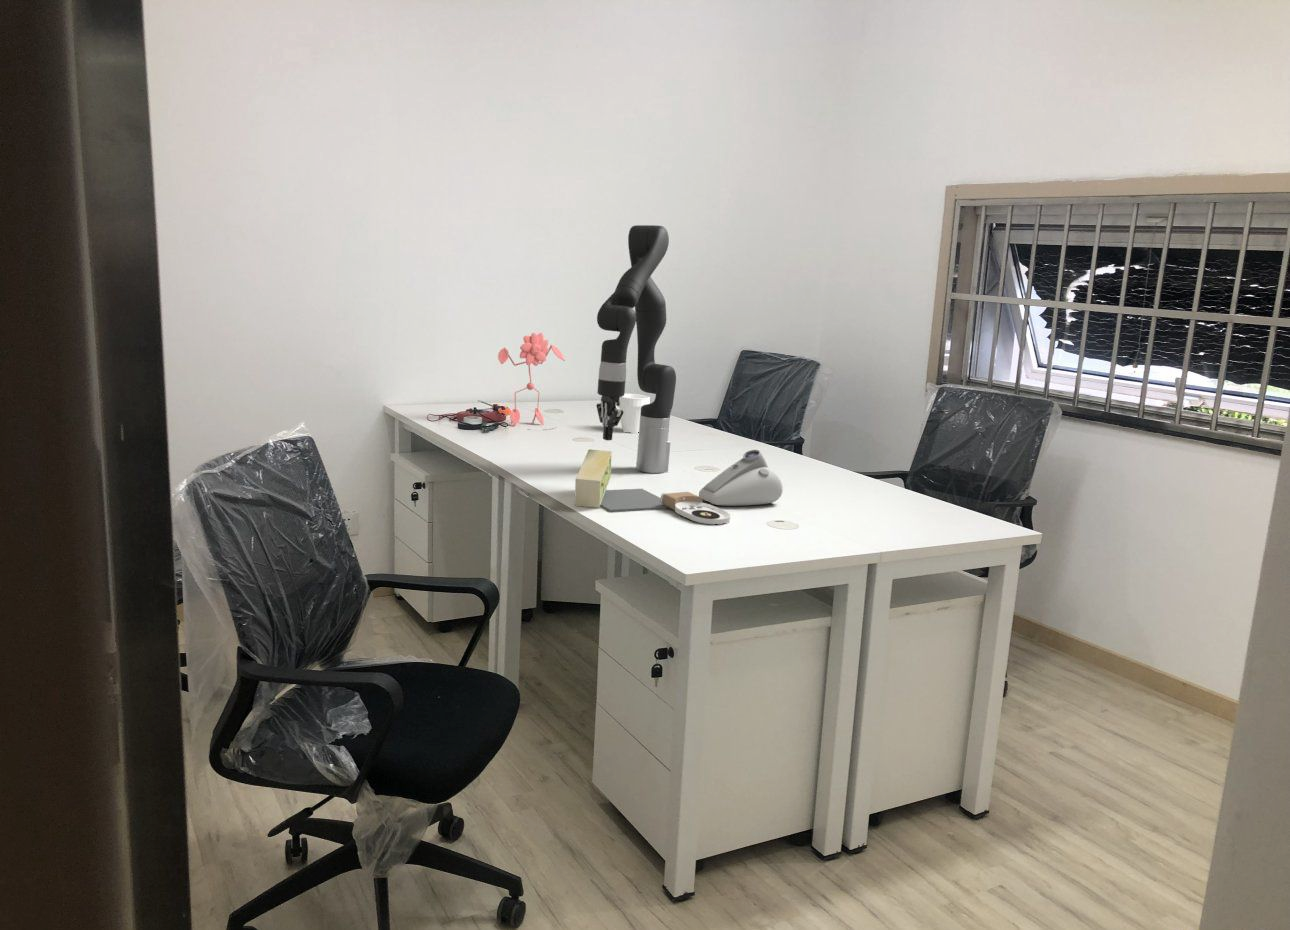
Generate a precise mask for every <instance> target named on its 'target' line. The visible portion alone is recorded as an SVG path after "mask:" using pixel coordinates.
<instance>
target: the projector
mask: <svg viewBox="0 0 1290 930" xmlns="http://www.w3.org/2000/svg"><path fill="white" fill-rule="evenodd" d="M783 489H784V488H783V483H782V480H781V479H780V477H779V475H778V474H777V473H776V472H775V471H774V470H773V469H771V468H770V467H769V466H768V464H767V461H766V459H765V457H764V456H763V454H762V452H761V451H760V450H759V449H750V450H748V451H746V452H744V453H743V455H742V458H741V459H740V460H738V461H736V462H735V463H734V464H731V465H730V466H729V467H727V468H726V469H725V470H724V471H722V472H721V473H719V474H718V475H717V476H715V477H714V478H712V480H710V481H709V482H707V484H705V485H704V486H703V487H701V489H700V490H699V492H698V496H699V497H701V498H702V501H707V502H709V503H710V505H713V506H715V505H716V506H723V507H724V506H726V507H727V506H729V507H738V506H739V507H741V506H742V507H747V506H757V505H758V506H760V505H767V504H772V503H774V502H776V501H778V500H779V499H781V497H782V494H783Z"/></svg>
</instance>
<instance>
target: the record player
mask: <svg viewBox="0 0 1290 930" xmlns="http://www.w3.org/2000/svg"><path fill="white" fill-rule="evenodd" d="M660 503H661V504H663V505H665V506H667V507H669V508H671V510H673V511H674V512H675V513H676V514H678V515H679V516H682V517H684V518H687V519H689V520H691V521H694V522H696V523H699V524H700V523H701V524H706V525H715V524H718V525H724V524H723V523H726V524H728V523H730V520H731V514H730V512H728V511H726V510H724V509H721V508H720V507H717V506H715V505H713V504H711V503H710V504H709V503H704V502H703V500H702V498H701V497H699V495H697V494H694V493H691V492H689V491H687V490H683V491H680V490H679V491H668V492H662V493H661V495H660ZM727 522H728V523H727Z"/></svg>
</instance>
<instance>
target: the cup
mask: <svg viewBox="0 0 1290 930" xmlns="http://www.w3.org/2000/svg"><path fill="white" fill-rule="evenodd" d="M650 399H651V397H650V396H648V395H644V394H637V393H624V396H622V397H620V398H619V401H620V406H619V408H620V410H623V415H622V417H621V419H620V424H621V431H622V430H623V431H626V432H631V433H630V434H639V433H638V432H639V425H640V415H641V414H640V413H641V407H642V406H643V405H646V404H650ZM623 431H622V432H623Z"/></svg>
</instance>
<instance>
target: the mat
mask: <svg viewBox="0 0 1290 930" xmlns="http://www.w3.org/2000/svg"><path fill="white" fill-rule="evenodd" d="M660 498H661V496H658V495H655V494H653V493H651V492H650V491H648V490H646V489H644V488H627V489H606V491H605V494H604V497H603V500H602V502H601V505H600V507H599V508H602V509H604V510H605V509H606V511H607V512H609V513H619V512H637V511H653V510H654V511H655V510H656V511H657V510H670V509H671V508H669V507H667V506H665V505H663V504H661V503H660ZM671 510H672V509H671Z"/></svg>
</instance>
